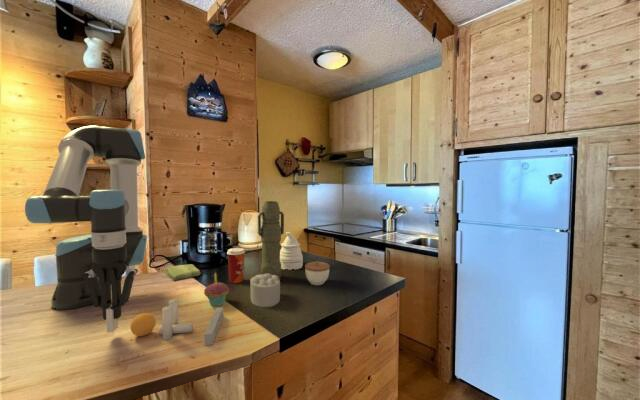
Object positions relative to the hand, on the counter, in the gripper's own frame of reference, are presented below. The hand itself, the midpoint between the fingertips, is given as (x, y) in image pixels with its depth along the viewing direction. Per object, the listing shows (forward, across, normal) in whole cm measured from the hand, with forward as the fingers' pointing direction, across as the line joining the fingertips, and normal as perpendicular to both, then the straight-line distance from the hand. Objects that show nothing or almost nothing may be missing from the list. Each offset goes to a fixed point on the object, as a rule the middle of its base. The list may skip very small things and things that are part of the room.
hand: (112, 329), depth 77 cm
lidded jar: (+2, +63, +34) cm, 72 cm away
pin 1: (+2, +15, -3) cm, 15 cm away
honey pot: (+3, +53, +60) cm, 80 cm away
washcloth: (+3, +2, +55) cm, 55 cm away
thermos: (+2, +43, +42) cm, 60 cm away
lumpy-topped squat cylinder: (+2, +41, +19) cm, 46 cm away
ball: (-1, +8, 0) cm, 8 cm away
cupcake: (+2, +24, +19) cm, 31 cm away
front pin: (+1, +12, 0) cm, 12 cm away
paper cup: (+2, +28, +41) cm, 50 cm away
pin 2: (+2, +15, +2) cm, 15 cm away
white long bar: (+2, +27, 0) cm, 27 cm away
